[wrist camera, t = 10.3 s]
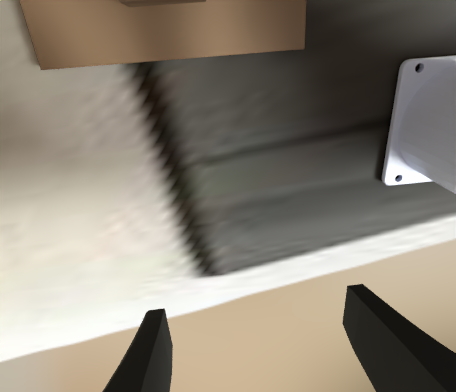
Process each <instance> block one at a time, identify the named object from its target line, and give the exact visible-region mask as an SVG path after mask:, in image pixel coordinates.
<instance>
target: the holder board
mask: <svg viewBox="0 0 456 392" xmlns="http://www.w3.org/2000/svg"><path fill="white" fill-rule="evenodd" d="M19 1H20V4H21V7H22V11H23V14H24V17H25V20H26V23H27V27H28V30H29V33H30V36H31V39H32V43H33V46H34V49H35V52H36V55H37V59H38V62H39V65H40V68H41V70H47V69H60V68H72V67H85V66H98V65H110V64H123V63H135V62H148V61H160V60H173V59H186V58H198V57H211V56H223V55H236V54H248V53H261V52H273V51H286V50H299V49H305V22H306V0H19Z"/></svg>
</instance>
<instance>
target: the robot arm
mask: <svg viewBox="0 0 456 392" xmlns="http://www.w3.org/2000/svg"><path fill="white" fill-rule="evenodd" d="M417 64H419V65H420V68H419V70H418V71H417V72H416V71H415V67H416V65H417ZM397 175H399V177H398V178H397V179H395V177H396V176H397ZM382 181H383V183H385V184H386V185H399V184H409V183H419V182H429V181H434V182H436V183H438V184H439V185H441V186H443V187H444V188H446V189H448V190H450V191H451V192H453V193H455V194H456V55H453V56H440V57H428V58H416V59H408V60H405V61H404V62H403V63H402V64H401V66H400V69H399V75H398V81H397V87H396V93H395V99H394V106H393V112H392V118H391V124H390V130H389V136H388V142H387V149H386V155H385V161H384V167H383V173H382ZM343 325H344V328H345V331H346V333H347V336H348V338H349V341H350V343H351V345H352V348H353V349H354V352H355V354H356V356H357V357H358V359H359V361H360V363H361V365H362V367H363V369H364V370H365V372H366V374H367V376H368V377H369V379H370V381H371V383H372V385H373V387H374V389H375V390H376V392H456V353H454V352H453V351H451V350H450V349H448V348H447V347H445V346H444V345H442V344H441V343H439V342H437V341H436V340H435V339H434V338H432V337H431V336H429V335H428V334H426V333H425V332H424V331H422V330H421V329H419V328H418V327H417V326H415V325H414V324H413V323H411V322H410V321H409V320H407V319H406V318H405V317H403V316H402V315H401V314H399V313H398V312H397V311H395V310H394V309H393V308H392V307H390V306H389V305H388V304H387V303H385V302H384V301H383V300H382V299H380V298H379V297H378V296H376V295H375V294H374V293H373V292H372V291H371V290H369V289H368V288H367V287H365V286H364V285H363V284H359V285H351V286H347V293H346V301H345V309H344V316H343ZM172 346H173V345H172V341H171V336H170V331H169V327H168V322H167V318H166V313H165V309H157V310H149V311H148V312H147V313H146V314H145V317H144V319H143V321H142V323H141V325H140V327H139V329H138V332H137V333H136V335H135V337H134V339H133V341H132V343H131V345H130V347H129V349H128V350H127V352H126V354H125V356H124V357H123V359H122V361H121V363H120V365H119V366H118V368H117V369H116V371H115V373H114V374H113V376H112V377H111V379H110V381H109V382H108V384H107V386H106V387H105V389H104V390H103V392H169V391H170V383H171V375H172Z"/></svg>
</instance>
